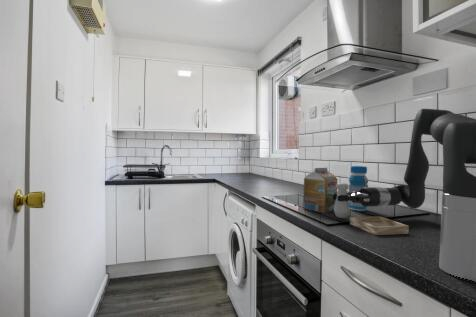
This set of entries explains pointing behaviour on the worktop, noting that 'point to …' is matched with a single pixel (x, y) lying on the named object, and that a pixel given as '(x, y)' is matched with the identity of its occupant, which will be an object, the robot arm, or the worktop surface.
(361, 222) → the tray
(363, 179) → the beverage bottle
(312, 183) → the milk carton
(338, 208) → the salt shaker
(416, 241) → the worktop surface
